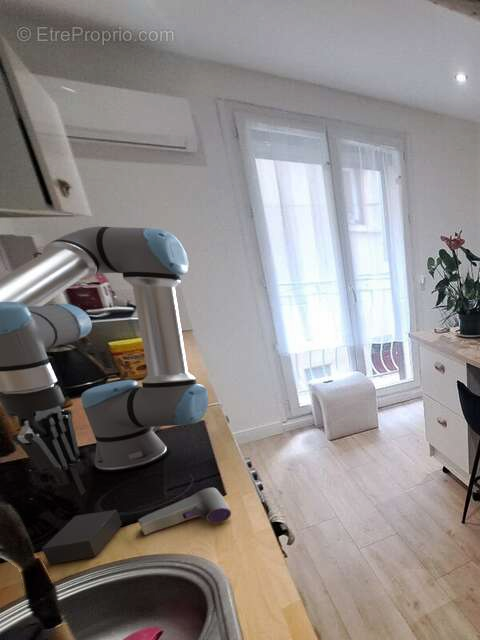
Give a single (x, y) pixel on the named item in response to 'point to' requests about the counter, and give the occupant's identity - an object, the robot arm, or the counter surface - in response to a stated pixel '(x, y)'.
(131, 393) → the robot arm
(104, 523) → the block
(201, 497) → the infrared thermometer
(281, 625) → the counter surface
